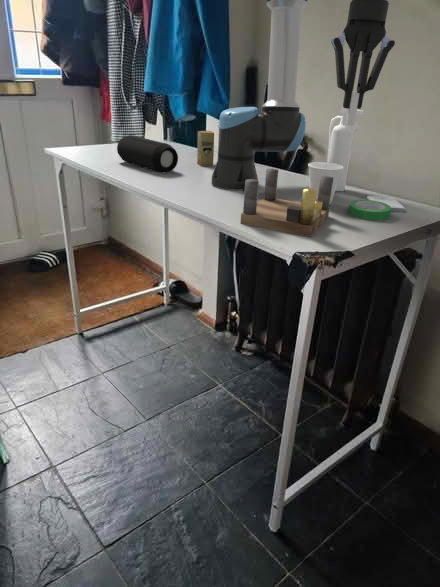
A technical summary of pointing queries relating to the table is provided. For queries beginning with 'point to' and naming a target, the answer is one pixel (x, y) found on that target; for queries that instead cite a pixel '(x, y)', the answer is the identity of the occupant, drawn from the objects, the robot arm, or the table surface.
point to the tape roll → (369, 210)
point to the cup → (324, 170)
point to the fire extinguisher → (341, 145)
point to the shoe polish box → (205, 148)
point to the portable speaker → (147, 153)
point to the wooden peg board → (281, 207)
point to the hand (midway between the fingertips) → (349, 124)
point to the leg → (309, 206)
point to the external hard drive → (388, 202)
